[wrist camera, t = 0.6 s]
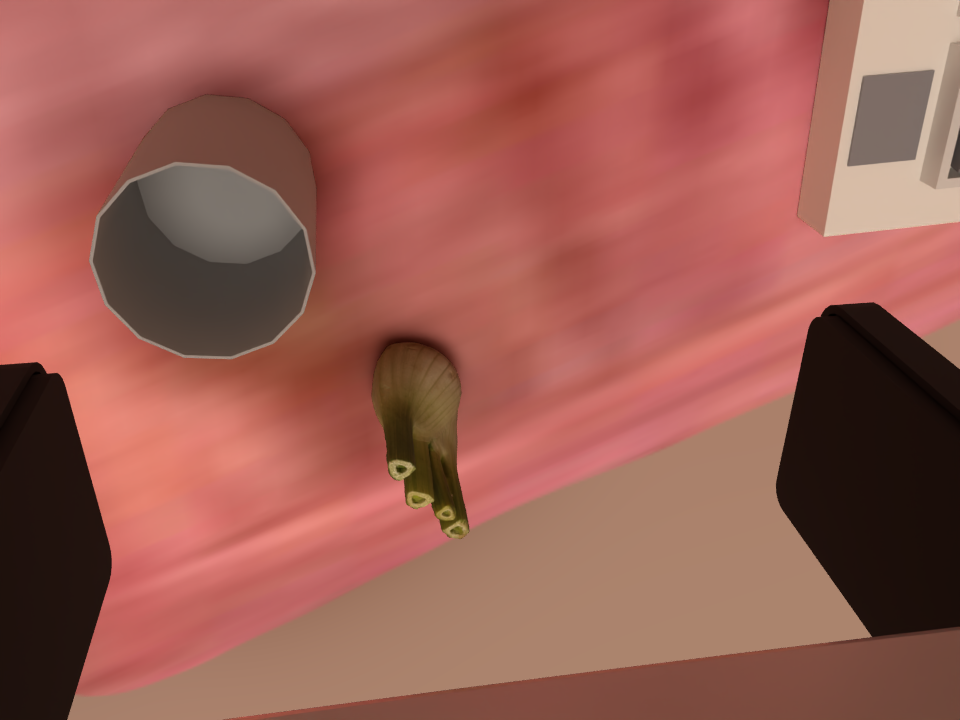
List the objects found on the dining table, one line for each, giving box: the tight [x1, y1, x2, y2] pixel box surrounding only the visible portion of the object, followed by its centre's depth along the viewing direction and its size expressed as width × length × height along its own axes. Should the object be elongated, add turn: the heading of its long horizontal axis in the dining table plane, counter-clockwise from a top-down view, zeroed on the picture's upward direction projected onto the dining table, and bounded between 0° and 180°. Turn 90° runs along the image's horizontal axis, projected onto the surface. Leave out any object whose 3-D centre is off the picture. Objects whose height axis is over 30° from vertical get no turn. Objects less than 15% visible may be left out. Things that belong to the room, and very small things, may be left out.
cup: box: [89, 95, 316, 359], centre depth 38 cm, size 8×8×10 cm
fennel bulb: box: [372, 342, 469, 539], centre depth 44 cm, size 6×5×12 cm
